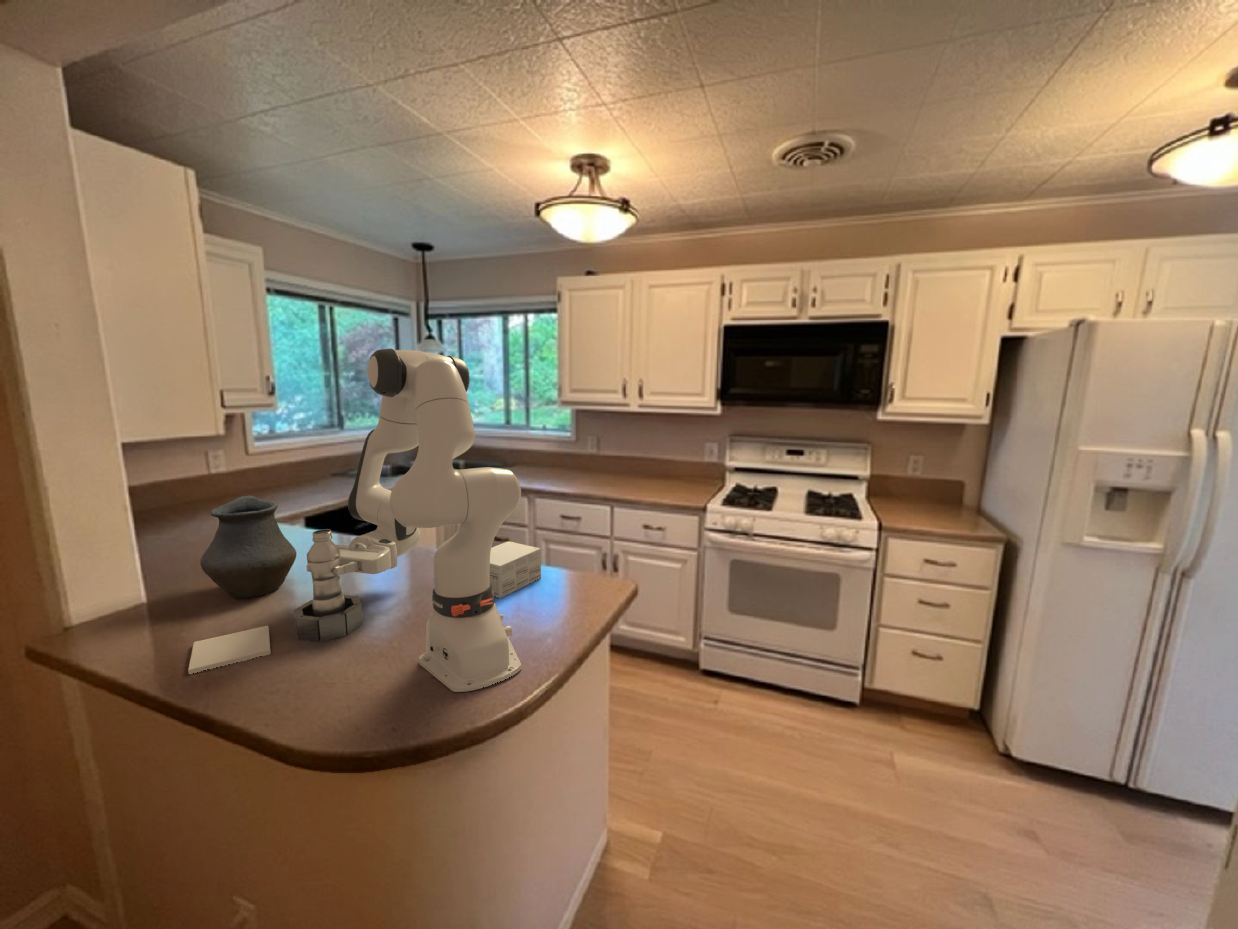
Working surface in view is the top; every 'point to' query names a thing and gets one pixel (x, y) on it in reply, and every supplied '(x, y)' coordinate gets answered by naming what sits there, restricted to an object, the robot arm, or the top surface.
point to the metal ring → (328, 621)
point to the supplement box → (513, 567)
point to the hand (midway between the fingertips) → (322, 570)
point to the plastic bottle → (325, 575)
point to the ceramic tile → (229, 649)
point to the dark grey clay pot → (248, 549)
